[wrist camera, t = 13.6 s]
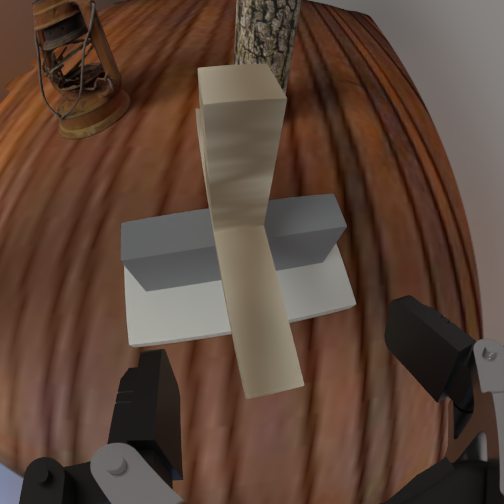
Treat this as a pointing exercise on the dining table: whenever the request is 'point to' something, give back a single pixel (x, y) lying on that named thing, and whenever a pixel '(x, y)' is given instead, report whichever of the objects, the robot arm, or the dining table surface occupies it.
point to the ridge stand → (208, 274)
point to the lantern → (78, 78)
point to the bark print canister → (267, 34)
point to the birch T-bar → (246, 217)
